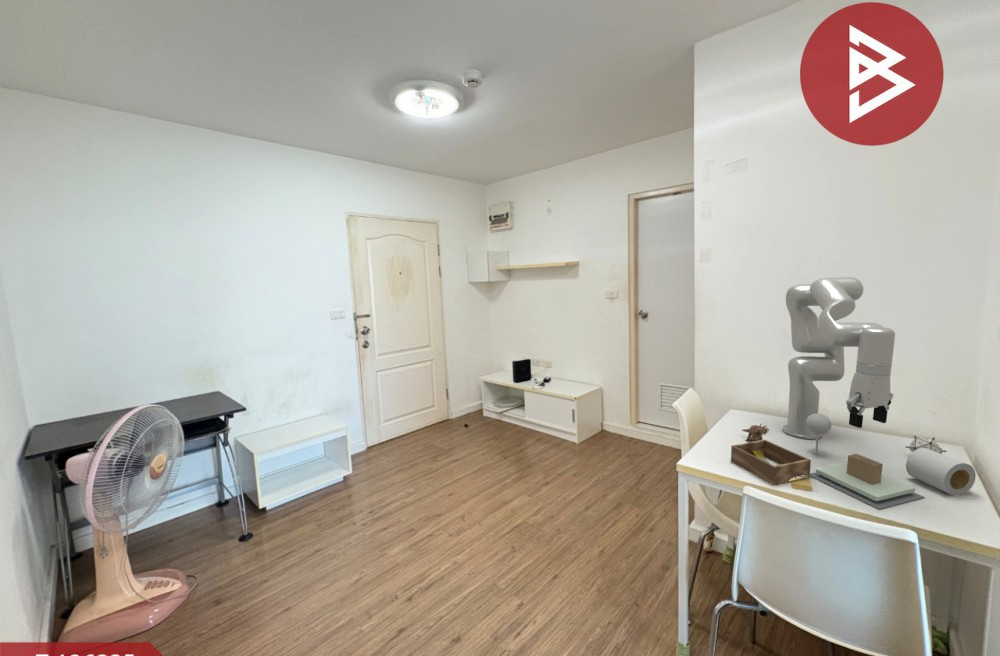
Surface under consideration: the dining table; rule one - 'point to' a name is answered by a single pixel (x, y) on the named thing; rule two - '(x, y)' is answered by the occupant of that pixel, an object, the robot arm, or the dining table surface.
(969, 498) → the dining table surface
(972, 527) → the dining table surface
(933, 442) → the grey rod frame
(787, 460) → the crate
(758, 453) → the medication box
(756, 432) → the dinosaur figurine
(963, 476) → the toilet paper
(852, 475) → the lid
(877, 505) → the mat
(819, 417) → the lollipop
